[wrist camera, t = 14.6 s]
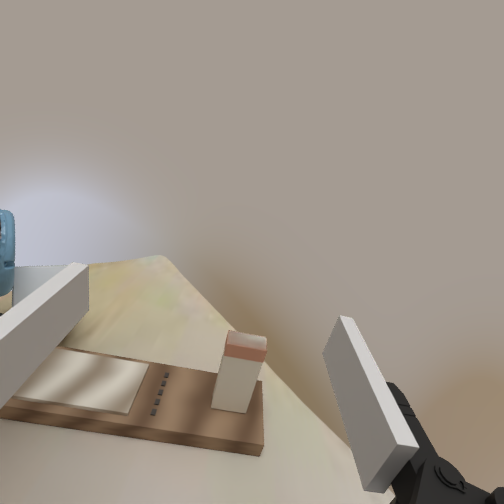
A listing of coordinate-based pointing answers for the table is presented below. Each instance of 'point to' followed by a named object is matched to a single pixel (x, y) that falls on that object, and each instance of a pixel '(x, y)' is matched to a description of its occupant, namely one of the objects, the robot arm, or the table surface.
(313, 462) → the table surface
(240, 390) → the stub
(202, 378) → the board
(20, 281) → the supplement box
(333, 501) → the table surface
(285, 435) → the table surface
